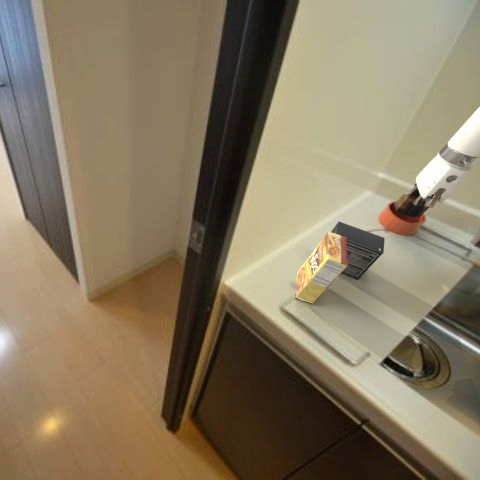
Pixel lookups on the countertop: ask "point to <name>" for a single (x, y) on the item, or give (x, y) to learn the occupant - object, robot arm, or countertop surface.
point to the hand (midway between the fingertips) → (407, 210)
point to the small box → (359, 249)
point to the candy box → (322, 267)
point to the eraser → (407, 203)
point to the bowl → (400, 221)
